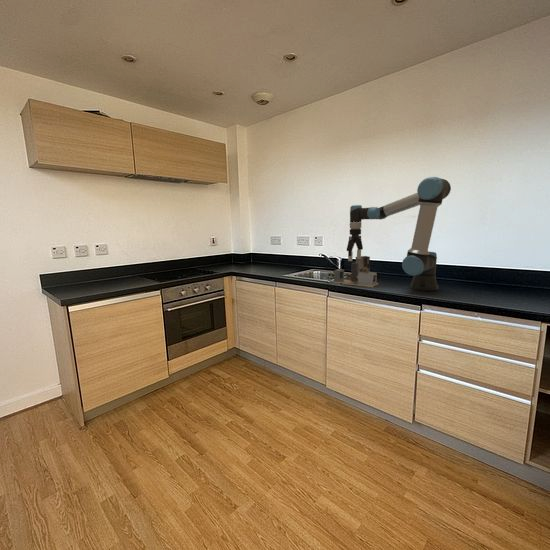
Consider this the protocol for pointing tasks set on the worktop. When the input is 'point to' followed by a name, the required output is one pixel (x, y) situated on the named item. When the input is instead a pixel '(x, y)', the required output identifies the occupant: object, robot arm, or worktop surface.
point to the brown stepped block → (354, 272)
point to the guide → (363, 280)
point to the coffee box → (363, 264)
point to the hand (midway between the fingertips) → (354, 259)
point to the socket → (339, 275)
